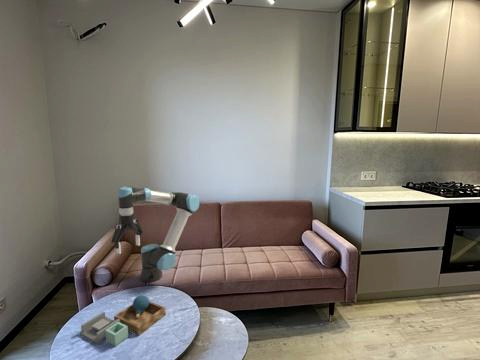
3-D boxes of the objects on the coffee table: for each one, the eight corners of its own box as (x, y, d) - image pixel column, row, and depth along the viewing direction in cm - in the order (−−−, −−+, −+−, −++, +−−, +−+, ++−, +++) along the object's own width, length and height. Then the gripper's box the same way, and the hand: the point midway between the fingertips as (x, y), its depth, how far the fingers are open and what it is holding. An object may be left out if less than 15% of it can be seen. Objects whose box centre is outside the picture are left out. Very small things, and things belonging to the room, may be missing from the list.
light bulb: (138, 313, 143) (144, 291, 152) (125, 316, 145) (132, 294, 154) (148, 319, 148) (153, 297, 157) (135, 322, 150) (141, 300, 159)
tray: (142, 305, 160) (141, 298, 160) (165, 315, 151) (165, 307, 151) (114, 323, 144) (113, 316, 144) (139, 335, 135) (138, 327, 135)
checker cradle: (105, 319, 148) (104, 310, 147) (122, 327, 141) (122, 318, 141) (79, 335, 136) (78, 325, 135) (97, 345, 129) (96, 335, 129)
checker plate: (102, 320, 142) (102, 318, 142) (110, 324, 139) (110, 322, 139) (91, 327, 137) (91, 325, 137) (99, 331, 134) (99, 329, 134)
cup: (118, 332, 138) (118, 321, 137) (128, 337, 134) (127, 326, 133) (106, 341, 132) (105, 330, 131) (115, 346, 128) (115, 335, 127)
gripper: (139, 208, 172) (141, 241, 175) (102, 218, 150) (105, 255, 153) (147, 210, 168) (149, 243, 171) (111, 220, 146) (114, 258, 150)
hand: (128, 249), depth 162 cm, fingers open, 13 cm apart
